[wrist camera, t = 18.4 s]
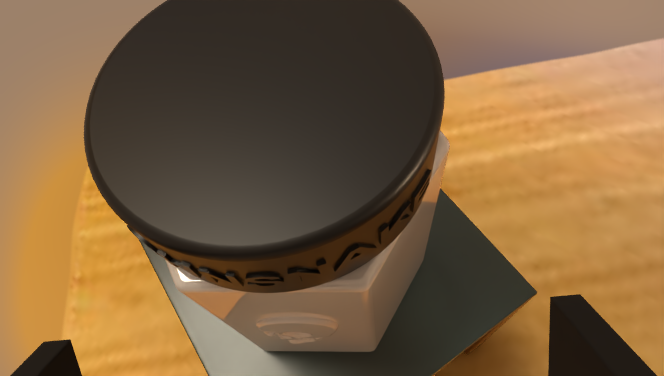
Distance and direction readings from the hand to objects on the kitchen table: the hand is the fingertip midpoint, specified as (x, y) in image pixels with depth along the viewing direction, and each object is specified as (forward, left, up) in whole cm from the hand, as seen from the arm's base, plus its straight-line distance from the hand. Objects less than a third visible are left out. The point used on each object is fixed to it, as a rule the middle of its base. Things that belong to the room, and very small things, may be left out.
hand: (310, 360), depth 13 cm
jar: (-2, -4, -7) cm, 8 cm away
